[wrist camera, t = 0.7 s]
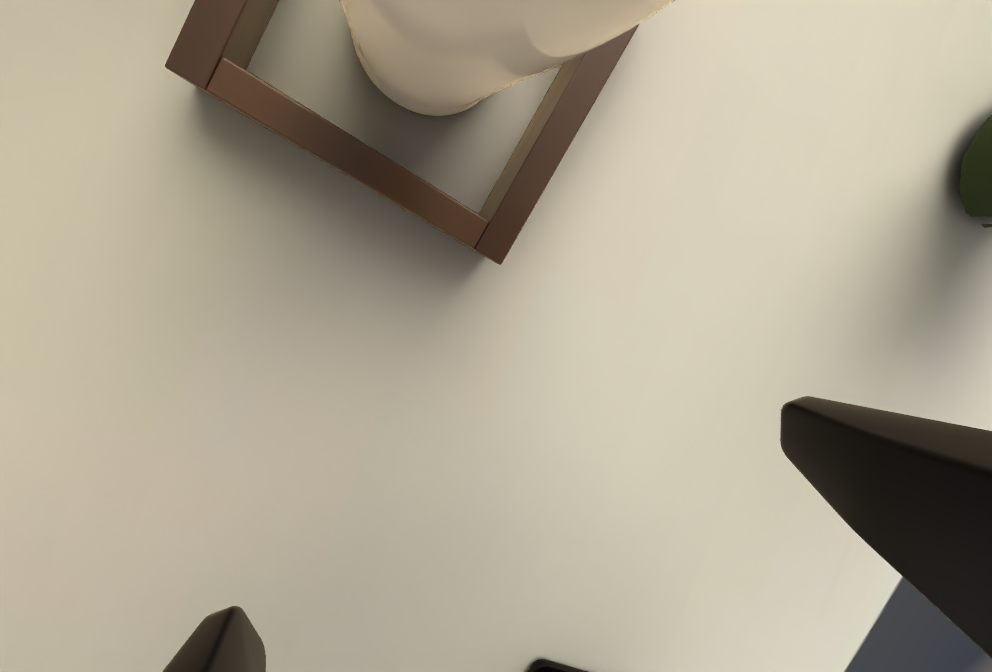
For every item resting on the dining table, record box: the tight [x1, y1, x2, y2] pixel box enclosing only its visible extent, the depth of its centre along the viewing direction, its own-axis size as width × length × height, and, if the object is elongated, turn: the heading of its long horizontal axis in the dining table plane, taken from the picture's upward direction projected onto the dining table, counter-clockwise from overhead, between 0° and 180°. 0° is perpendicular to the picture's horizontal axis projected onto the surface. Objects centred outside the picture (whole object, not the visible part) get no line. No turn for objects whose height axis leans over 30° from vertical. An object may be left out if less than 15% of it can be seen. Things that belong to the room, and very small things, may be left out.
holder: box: [165, 0, 640, 265], centre depth 16 cm, size 11×11×2 cm
